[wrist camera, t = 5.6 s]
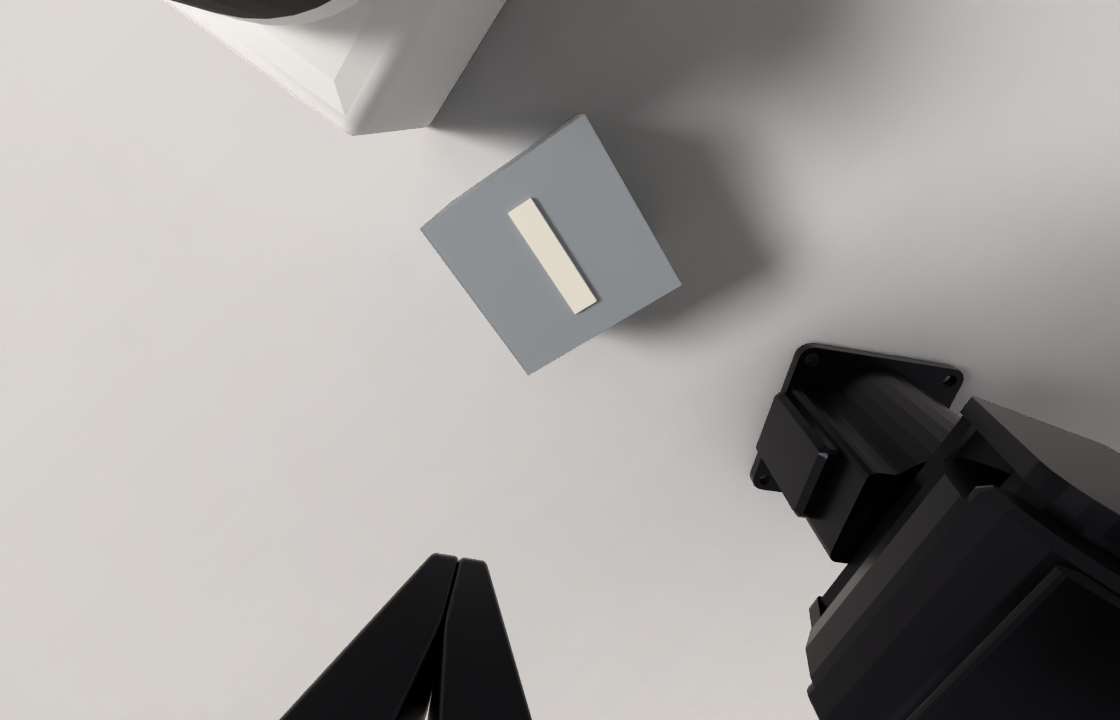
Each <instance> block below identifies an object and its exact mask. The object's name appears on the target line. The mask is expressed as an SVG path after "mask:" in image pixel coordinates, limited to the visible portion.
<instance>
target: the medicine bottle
mask: <svg viewBox="0 0 1120 720" xmlns="http://www.w3.org/2000/svg"><path fill="white" fill-rule="evenodd" d="M164 1H165V2H167V3H168V4H169V5H171V6H172V7H173V8H175V9H176V10H177V11H179V12H180V13H182V14H183V15H184V16H186V17H187V18H188V19H190V20H191V21H192V22H194V23H195V24H197V25H198V26H199V27H201V28H202V29H203V30H205V31H206V32H207V33H209V34H210V35H212V36H213V37H214V38H216V39H217V40H218V41H220V42H221V43H222V44H224V45H225V46H227V47H228V48H229V49H231V50H232V51H233V52H235V53H236V54H237V55H239V56H240V57H242V58H243V59H244V60H246V61H247V62H248V63H250V64H251V65H253V66H254V67H255V68H257V69H258V70H259V71H261V72H262V73H263V74H265V75H266V76H268V77H269V78H270V79H272V80H273V81H274V82H276V83H277V84H278V85H280V86H281V87H283V88H284V89H285V90H287V91H288V92H289V93H291V94H292V95H293V96H295V97H296V98H298V99H299V100H300V101H302V102H303V103H304V104H306V105H307V106H308V107H310V108H311V109H313V110H314V111H315V112H317V113H318V114H319V115H321V116H322V117H323V118H325V119H326V120H328V121H329V122H330V123H332V124H333V125H334V126H336V127H337V128H338V129H340V130H341V131H343V132H344V133H347V134H349V135H352V136H355V135H364V134H372V133H381V132H389V131H398V130H406V129H415V128H423V127H427V126H428V125H429V124H431V122H432V121H433V119H434V118H435V116H436V114H437V113H438V111H439V109H440V108H441V106H442V105H443V103H444V101H445V100H446V98H447V96H448V95H449V93H450V91H451V90H452V88H453V87H454V85H455V83H456V82H457V80H458V78H459V77H460V75H461V74H462V72H463V70H464V69H465V67H466V65H467V64H468V62H469V61H470V59H471V57H472V56H473V54H474V52H475V51H476V49H477V47H478V46H479V44H480V43H481V41H482V39H483V38H484V36H485V34H486V33H487V31H488V30H489V28H490V26H491V25H492V23H493V21H494V20H495V18H496V16H497V15H498V13H499V12H500V10H501V8H502V7H503V5H504V3H505V2H506V0H164Z"/></svg>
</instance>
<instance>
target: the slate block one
mask: <svg viewBox="0 0 1120 720" xmlns="http://www.w3.org/2000/svg"><path fill="white" fill-rule="evenodd" d="M420 230H421V231H422V232H423V234H424V235H425V237H426V238H427V239H428V241H429V242H430V243H431V245H432V246H433V247H434V249H435V250H436V251H437V253H438V254H439V255H440V257H441V258H442V259H443V261H444V262H445V264H446V265H447V266H448V268H449V269H450V270H451V272H452V273H453V274H454V276H455V277H456V278H457V280H458V281H459V282H460V284H461V285H462V287H463V288H464V289H465V291H466V292H467V293H468V295H469V296H470V297H471V299H472V300H473V301H474V303H475V304H476V305H477V307H478V308H479V309H480V311H481V312H482V314H483V315H484V316H485V318H486V319H487V320H488V322H489V323H490V324H491V326H492V327H493V328H494V330H495V331H496V332H497V334H498V335H499V337H500V338H501V339H502V341H503V342H504V343H505V345H506V346H507V347H508V349H509V350H510V351H511V353H512V354H513V355H514V357H515V358H516V359H517V361H518V362H519V364H520V365H521V366H522V368H523V369H524V370H525V372H526V373H527V374H528V375H530V374H532V373H533V372H535V371H537V370H538V369H540V368H542V367H543V366H545V365H547V364H549V363H550V362H552V361H554V360H555V359H557V358H559V357H560V356H562V355H564V354H566V353H567V352H569V351H571V350H572V349H574V348H576V347H577V346H579V345H581V344H583V343H584V342H586V341H588V340H589V339H591V338H593V337H594V336H596V335H598V334H600V333H601V332H603V331H605V330H606V329H608V328H610V327H611V326H613V325H615V324H616V323H618V322H620V321H622V320H623V319H625V318H627V317H628V316H630V315H632V314H633V313H635V312H637V311H639V310H640V309H642V308H644V307H645V306H647V305H649V304H650V303H652V302H654V301H656V300H657V299H659V298H661V297H662V296H664V295H666V294H667V293H669V292H671V291H673V290H674V289H676V288H678V287H679V286H681V285H682V284H681V282H680V281H679V279H678V277H677V275H676V274H675V272H674V270H673V268H672V266H671V265H670V263H669V261H668V259H667V258H666V256H665V254H664V252H663V251H662V249H661V247H660V245H659V244H658V242H657V240H656V238H655V237H654V235H653V233H652V231H651V230H650V228H649V226H648V224H647V222H646V221H645V219H644V217H643V215H642V214H641V212H640V210H639V208H638V207H637V205H636V203H635V201H634V200H633V198H632V196H631V194H630V193H629V191H628V189H627V187H626V186H625V184H624V182H623V180H622V178H621V177H620V175H619V173H618V171H617V170H616V168H615V166H614V164H613V163H612V161H611V159H610V157H609V156H608V154H607V152H606V150H605V149H604V147H603V145H602V143H601V142H600V140H599V138H598V136H597V134H596V133H595V131H594V129H593V127H592V126H591V124H590V122H589V120H588V119H587V117H586V115H585V114H576V115H575V116H573V117H572V118H571V119H569V120H568V121H566V122H565V123H563V124H562V125H561V126H559V127H558V128H556V129H555V130H553V131H552V132H551V133H549V134H548V135H546V136H545V137H543V138H542V139H540V140H539V141H538V142H536V143H535V144H533V145H532V146H530V147H529V148H528V149H526V150H525V151H523V152H522V153H520V154H519V155H518V156H516V157H515V158H513V159H512V160H510V161H509V162H507V163H506V164H505V165H503V166H502V167H500V168H499V169H497V170H496V171H495V172H493V173H492V174H490V175H489V176H487V177H486V178H485V179H483V180H482V181H480V182H479V183H477V184H476V185H474V186H473V187H472V188H470V189H469V190H467V191H466V192H464V193H463V194H462V195H460V196H459V197H457V198H456V199H454V200H453V201H452V202H450V203H449V204H448V205H447V206H446V207H445V208H443V209H442V210H441V211H440V212H439V213H438V214H436V215H435V216H434V217H433V218H432V219H431V220H429V221H428V222H427V223H426V224H425V225H424V226H422V227H421V228H420Z"/></svg>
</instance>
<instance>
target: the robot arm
mask: <svg viewBox="0 0 1120 720" xmlns="http://www.w3.org/2000/svg"><path fill="white" fill-rule="evenodd" d="M810 354H814V357H813V359H812V360H810V361H806V362H805V358H806V357H807V356H808V355H810ZM948 376H950V378H949V379H948V380H947V381H945V382H943V381H944V379H945V378H946V377H948ZM963 379H964V377H963V374H962V373H961V371H959V370H958V369H956V368H955V367H953V366H950V365H945V364H939V363H933V362H926V361H920V360H914V359H908V358H901V357H895V356H889V355H882V354H876V353H870V352H863V351H857V350H851V349H844V348H838V347H832V346H825V345H819V344H813V343H809V344H804V345H802V346H801V347H799V348H798V349H797V351H796V352H795V355H794V357H793V360H792V363H791V365H790V368H789V371H788V373H787V376H786V379H785V381H784V384H783V387H782V389H781V392H779V393H778V394H777V395H776V396H775V397H774V400H773V403H772V405H771V408H770V411H769V414H768V416H767V419H766V422H765V424H764V427H763V430H762V432H761V435H760V438H759V440H758V443H757V446H756V449H757V451H758V453H757V456H756V459H755V461H754V464H753V467H752V469H751V472H750V478H751V480H752V482H753V484H754V486H756V487H757V488H759V489H762V490H770V491H777V492H782V493H783V494H784V496H785V498H786V500H787V501H788V503H789V505H790V506H791V508H792V510H793V511H794V513H795V514H796V515H797V516H798V517H802V518H806V519H807V521H808V523H809V524H810V526H811V527H812V529H813V531H814V532H815V534H816V536H817V537H818V539H819V541H820V542H821V544H822V545H823V547H824V549H825V550H826V552H827V554H828V555H829V557H830V558H831V560H832V561H835V562H840V563H847V564H848V565H847V566H846V567H845V569H844V570H843V571H842V572H841V574H840V575H839V576H838V578H837V579H836V580H835V581H834V583H833V584H832V585H831V587H830V588H829V589H828V591H827V592H826V593H825V594H824V596H823V597H821V596H819V597H818V598H817V599H816V600H815V601H814V603H813V604H812V605H811V607H810V608H809V612H810V619H811V627H812V629H811V631H810V634H809V638H808V642H807V645H806V654H807V660H808V666H809V671H810V677H811V680H812V683H811V684H810V685H809V687H808V689H807V693H808V697H809V699H810V702H811V704H812V706H813V708H814V710H815V712H816V714H817V716H818V718H819V720H1120V453H1118V452H1116V451H1114V450H1112V449H1111V448H1109V447H1107V446H1105V445H1103V444H1100V443H1098V442H1095V441H1092V440H1090V439H1087V438H1084V437H1082V436H1079V435H1076V434H1074V433H1071V432H1068V431H1066V430H1063V429H1060V428H1057V427H1055V426H1052V425H1049V424H1047V423H1044V422H1041V421H1039V420H1036V419H1033V418H1031V417H1028V416H1025V415H1023V414H1020V413H1017V412H1014V411H1012V410H1009V409H1006V408H1004V407H1001V406H998V405H996V404H993V403H990V402H988V401H985V400H982V399H980V398H977V397H974V396H972V397H971V398H970V400H969V401H968V402H967V404H966V405H965V406H964V408H963V409H962V410H961V411H960V412H961V414H962V415H963V416H962V417H961V418H960V417H959V416H957V415H956V414H955V413H953V412H952V411H951V410H949V408H950V406H951V404H952V402H953V400H954V398H955V396H956V394H957V392H958V391H959V389H960V387H961V385H962V383H963ZM763 475H767V476H766V477H765V478H763V479H759V478H760V477H761V476H763ZM430 699H431V700H430ZM429 703H430V706H429ZM428 707H429V713H428V720H532V718H531V715H530V711H529V708H528V704H527V701H526V698H525V694H524V691H523V687H522V684H521V680H520V677H519V673H518V670H517V666H516V663H515V660H514V656H513V653H512V649H511V646H510V642H509V639H508V635H507V632H506V628H505V625H504V622H503V618H502V615H501V611H500V608H499V604H498V601H497V597H496V594H495V591H494V587H493V584H492V580H491V577H490V573H489V570H488V566H487V564H486V563H485V562H484V561H482V560H476V559H469V558H461V559H460V560H459V563H458V558H457V557H456V556H451V555H445V554H439V553H434V554H432V555H431V556H430V557H428V559H427V560H426V561H425V562H424V563H423V564H422V565H421V566H420V567H419V568H418V569H417V571H416V572H415V573H414V574H413V575H412V576H411V577H410V578H409V579H408V580H407V581H406V583H405V584H404V585H403V586H402V587H401V588H400V589H399V590H398V591H397V592H396V593H395V594H394V596H393V597H392V598H391V599H390V600H389V601H388V602H387V603H386V604H385V605H384V606H383V608H382V609H381V610H380V611H379V612H378V613H377V614H376V615H375V616H374V617H373V618H372V619H371V621H370V622H369V623H368V624H367V625H366V626H365V627H364V628H363V629H362V630H361V631H360V633H359V634H358V635H357V636H356V637H355V638H354V639H353V640H352V641H351V642H350V643H349V645H348V646H347V647H346V648H345V649H344V650H343V651H342V652H341V653H340V654H339V655H338V656H337V658H336V659H335V660H334V661H333V662H332V663H331V664H330V665H329V666H328V667H327V668H326V670H325V671H324V672H323V673H322V674H321V675H320V676H319V677H318V678H317V679H316V680H315V681H314V683H313V684H312V685H311V686H310V687H309V688H308V689H307V690H306V691H305V692H304V693H303V695H302V696H301V697H300V698H299V699H298V700H297V701H296V702H295V703H294V704H293V705H292V707H291V708H290V709H289V710H288V711H287V712H286V713H285V714H284V715H283V716H282V717H281V718H280V720H425V717H426V714H427V711H428Z"/></svg>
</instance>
